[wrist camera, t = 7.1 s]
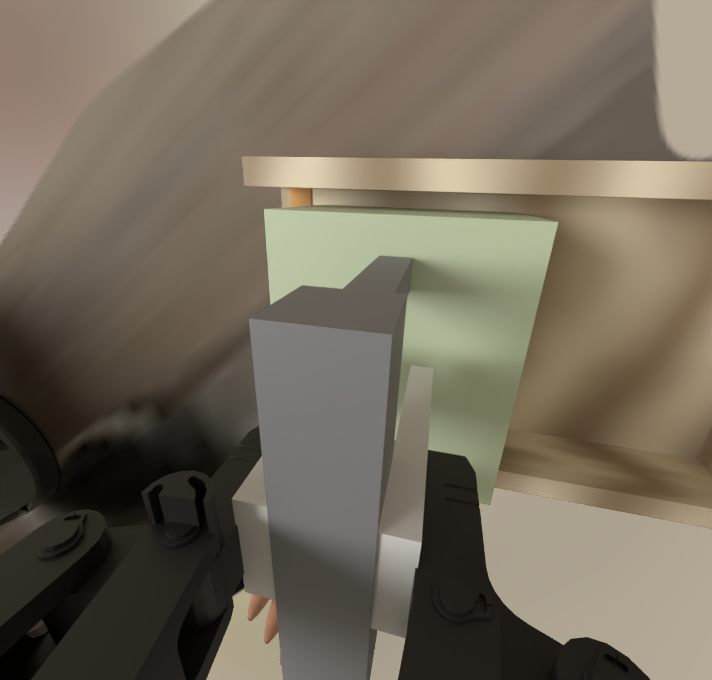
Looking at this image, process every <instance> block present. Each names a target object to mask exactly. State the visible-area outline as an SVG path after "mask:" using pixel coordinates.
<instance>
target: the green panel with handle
mask: <svg viewBox="0 0 712 680" xmlns="http://www.w3.org/2000/svg"><path fill="white" fill-rule="evenodd" d="M264 217H265V231H266V246H267V260H268V275H269V290H270V304H271V305H270V306H268V307H266V308H265V309H263V310H262V311H260V312H258V313H257V314H255V315H254V316H252V317H250V318H249V325H250V336H251V346H252V357H253V367H254V378H255V388H256V399H257V409H258V420H259V430H260V441H261V451H262V462H263V472H264V483H265V493H266V504H267V514H268V525H269V535H270V546H271V556H272V567H273V577H274V588H275V598H276V609H277V619H278V630H279V639H280V651H281V661H282V672H283V680H370V674H371V668H372V662H373V654H374V649H375V642H376V636H377V630H376V629H372V628H371V616H372V602H373V589H374V576H375V563H376V550H377V537H378V529H379V524H380V519H381V514H382V509H383V504H384V499H385V494H386V489H387V484H388V479H389V474H390V469H391V464H392V459H393V451H394V446H395V441H396V436H397V431H398V426H399V421H400V416H401V411H402V406H403V402H404V397H405V392H406V387H407V382H408V377H409V372H410V367H411V365H414V366H421V367H429V368H433V382H432V397H431V412H430V427H429V441H428V450H432V451H438V452H443V453H449V454H455V455H460V456H466V458H467V459H468V461H469V463H470V464H471V466H472V467H473V469H474V471H475V472H476V480H477V489H478V490H477V493H478V498H479V503H483V504H488V505H490V502H491V498H492V494H493V489H494V486H495V481H496V477H497V473H498V469H499V465H500V461H501V457H502V453H503V448H504V444H505V440H506V436H507V432H508V428H509V424H510V420H511V415H512V411H513V407H514V403H515V399H516V395H517V391H518V387H519V383H520V378H521V374H522V370H523V366H524V362H525V358H526V354H527V350H528V345H529V341H530V337H531V333H532V329H533V325H534V321H535V317H536V312H537V308H538V304H539V300H540V296H541V292H542V288H543V284H544V279H545V275H546V271H547V267H548V263H549V259H550V255H551V251H552V246H553V242H554V238H555V234H556V230H557V226H558V222H556V221H552V220H548V219H543V218H539V217H535V216H530V215H526V214H521V213H517V212H494V211H469V210H443V209H418V208H393V207H368V206H343V205H313V206H299V207H285V208H272V209H264Z"/></svg>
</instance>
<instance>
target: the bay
mask: <svg viewBox="0 0 712 680" xmlns="http://www.w3.org/2000/svg"><path fill="white" fill-rule="evenodd" d="M242 164H243V176H244V186H258V187H277V188H281V197H282V208H285V207H299V206H313V205H343V206H368V207H393V208H418V209H443V210H469V211H494V212H517V213H521V214H526V215H530V216H535V217H539V218H543V219H548V220H552V221H556V222H558V226H557V230H556V234H555V238H554V242H553V246H552V251H551V255H550V259H549V263H548V267H547V271H546V275H545V279H544V284H543V288H542V292H541V296H540V300H539V304H538V308H537V312H536V317H535V321H534V325H533V329H532V333H531V337H530V341H529V345H528V350H527V354H526V358H525V362H524V366H523V370H522V374H521V378H520V383H519V387H518V391H517V395H516V399H515V403H514V407H513V411H512V415H511V420H510V424H509V428H508V432H507V436H506V440H505V444H504V448H503V453H502V457H501V461H500V465H499V469H498V473H497V477H496V481H495V486H494V487H495V488H500V489H505V490H511V491H516V492H521V493H526V494H532V495H537V496H543V497H548V498H553V499H559V500H563V501H569V502H574V503H579V504H585V505H590V506H595V507H600V508H606V509H611V510H616V511H621V512H626V513H632V514H637V515H642V516H648V517H653V518H658V519H663V520H669V521H674V522H680V523H685V524H690V525H695V526H701V527H706V528H711V529H712V162H683V161H594V160H505V159H416V158H327V157H242Z"/></svg>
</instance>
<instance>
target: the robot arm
mask: <svg viewBox="0 0 712 680" xmlns="http://www.w3.org/2000/svg"><path fill="white" fill-rule="evenodd" d="M432 382H433V368H429V367H421V366H414V365H411V367H410V372H409V377H408V382H407V387H406V392H405V397H404V402H403V406H402V411H401V416H400V421H399V426H398V431H397V436H396V441H395V446H394V451H393V459H392V464H391V469H390V474H389V479H388V484H387V489H386V494H385V499H384V504H383V509H382V514H381V519H380V524H379V529H378V537H377V550H376V563H375V576H374V589H373V602H372V616H371V628H372V629H376V630H379V631H383V632H386V633H389V634H393V635H396V636H400V637H403V638H406V639H405V645H404V651H403V656H402V661H401V667H400V673H399V677H398V680H650V679H649V677H648V676H646V674H644V673H643V672H642V671H641V670H640V669H639V668H638V667H637V666H636V665H635V664H634V663H633V662H632V661H631V660H630V659H629V658H628V657H627V656H625V655H624V654H622V653H621V652H619V651H618V650H616V649H614V648H613V647H611V646H610V645H608V644H607V643H604V642H600V641H597V640H594V639H591V638H588V637H585V638H575V639H570V640H569V641H568V642H567V643H566V644H565V645H562V644H560V643H559V642H557V641H556V640H554V639H552V638H551V637H549V636H547V635H545V634H544V633H542V632H540V631H539V630H537V629H535V628H533V627H532V626H530V625H529V624H527V623H526V622H524V621H523V620H521V619H520V618H519V617H517V616H516V615H515V614H513V612H512V611H511V610H510V609H508V608H507V607H506V605H504V604H503V602H502V601H501V599H500V598H499V597H498V595H497V594H496V592H495V591H494V589H493V587H492V585H491V583H490V580H489V578H488V573H487V569H486V562H485V553H484V543H483V534H482V526H481V516H480V509H479V498H478V493H477V490H478V489H477V480H476V472H475V471H474V469H473V467H472V466H471V464H470V463H469V461H468V459H467V458H466V456H460V455H455V454H449V453H443V452H438V451H432V450H428V441H429V427H430V412H431V397H432ZM58 483H59V473H58V468H57V464H56V461H55V459H54V457H53V454H52V452H51V450H50V449H49V447H48V445H47V444H46V442H45V441H44V439H43V438H42V436H41V435H40V434H39V432H38V431H37V430H36V429H35V428H34V426H33V425H32V424H31V423H30V422H29V421H28V420H27V419H26V418H25V417H24V416H23V415H22V414H20V413H19V412H18V411H17V410H16V409H15V408H13V407H12V406H11V405H9V404H8V403H6V402H5V401H3V400H2V399H0V525H2V524H5V523H7V522H9V521H11V520H13V519H15V518H17V517H19V516H22V515H24V514H27V513H29V512H30V511H32V510H34V509H35V508H36V507H38V506H39V505H40V504H42V503H43V502H44V501H45V500H47V499H48V498H49V497H51V496H52V495H53V494H54V493H55V491H56V490H57V487H58ZM141 493H142V497H143V500H144V504H145V508H146V511H147V515H148V518H149V522H150V524H145V525H135V526H122V527H109V528H108V526H107V523H106V520H105V518H104V517H103V516H102V515H101V514H100V513H99V512H98V511H93V510H88V509H85V510H78V511H72V512H69V513H66V514H64V515H61V516H58V517H56V518H54V519H52V520H51V521H49V522H47V523H45V524H44V525H42V526H40V527H39V528H37V529H36V530H35V531H33V532H32V533H30V534H29V535H28V536H26V537H25V538H23V539H22V540H21V541H19V542H18V543H16V544H15V545H14V546H12V547H11V548H9V549H8V550H7V551H5V552H4V553H2V554H1V555H0V680H206V678H207V676H208V674H209V671H210V669H211V666H212V664H213V661H214V659H215V657H216V654H217V652H218V649H219V647H220V644H221V642H222V639H223V637H224V635H225V632H226V630H227V627H228V625H229V622H230V620H231V616H232V612H233V608H234V605H233V599H232V595H233V593H234V592H235V590H236V588H237V586H238V584H239V582H240V580H241V578H242V577H243V580H244V587H245V592H248V593H251V594H254V595H258V596H261V597H265V598H268V599H272V600H275V601H276V598H275V588H274V577H273V567H272V556H271V546H270V535H269V525H268V514H267V504H266V493H265V483H264V472H263V462H262V451H261V441H260V430H259V426H258V427H256V428H255V429H253V430H251V431H250V432H249V433H248V434H247V435H246V436H245V438H244V439H243V440H242V441H241V442H240V444H239V446H238V447H236V449H235V450H234V451H233V452H232V453H231V455H230V457H229V458H227V459H226V461H225V462H224V463H223V464H222V465H221V467H220V468H219V469H218V470H217V471H216V473H215V474H214V475H213V476H212V478H211V479H210V478H209V477H208V476H207V475H206V474H204V473H201V472H198V471H180V472H176V473H173V474H169V475H166V476H164V477H162V478H161V479H159V480H157V481H155V482H153V483H152V484H151V485H150V486H148V487H147V488H146V489H145V490H144V491H143V492H141ZM41 619H42V620H43V622H44V624H43V625H42V626H41V627H39V628H38V629H37V630H34V631H31V632H28V631H29V630H30V629H31V628H32V627H34V626H35V625H36V624H37V623H38V622H39V621H40V620H41ZM27 632H28V633H27Z"/></svg>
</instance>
